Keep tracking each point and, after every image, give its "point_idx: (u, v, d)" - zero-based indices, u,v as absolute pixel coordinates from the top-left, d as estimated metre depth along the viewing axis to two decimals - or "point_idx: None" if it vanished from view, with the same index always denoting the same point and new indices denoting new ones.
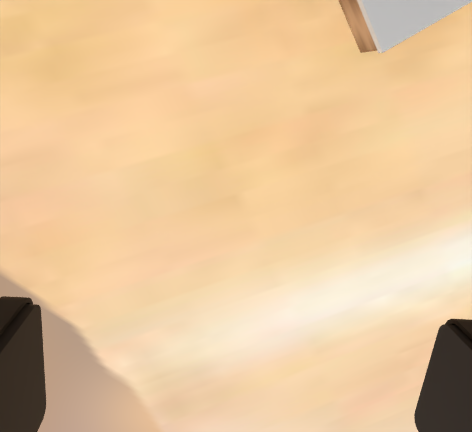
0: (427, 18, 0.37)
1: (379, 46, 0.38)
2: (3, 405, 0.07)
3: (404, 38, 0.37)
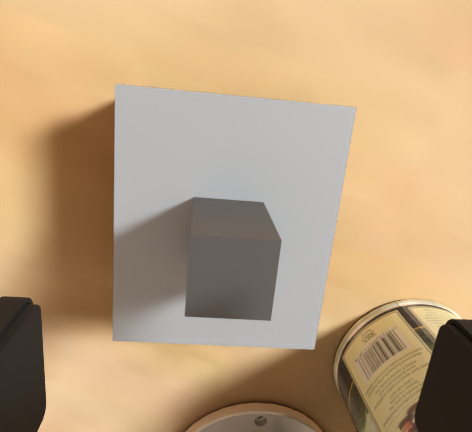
0: (251, 112, 0.18)
1: None
2: (3, 405, 0.07)
3: (307, 106, 0.18)
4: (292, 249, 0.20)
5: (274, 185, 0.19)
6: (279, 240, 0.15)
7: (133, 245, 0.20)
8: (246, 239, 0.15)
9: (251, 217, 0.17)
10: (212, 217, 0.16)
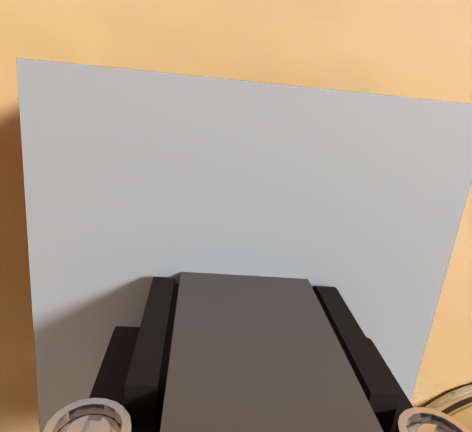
0: (290, 116, 0.09)
1: None
2: None
3: (399, 102, 0.09)
4: None
5: (328, 249, 0.10)
6: None
7: (71, 354, 0.11)
8: None
9: (296, 335, 0.08)
10: (216, 344, 0.08)
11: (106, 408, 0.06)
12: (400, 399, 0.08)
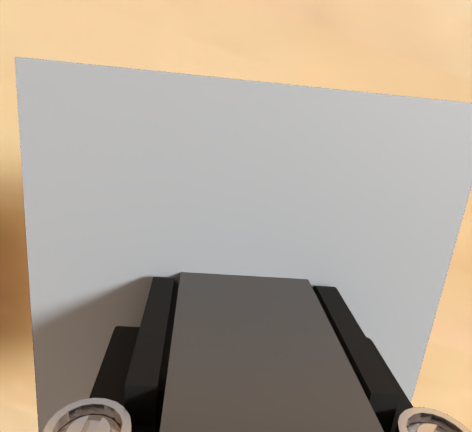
0: (290, 115, 0.09)
1: None
2: None
3: (400, 102, 0.09)
4: None
5: (329, 250, 0.10)
6: None
7: (70, 355, 0.11)
8: None
9: (296, 336, 0.08)
10: (216, 345, 0.08)
11: (106, 408, 0.06)
12: (400, 399, 0.08)
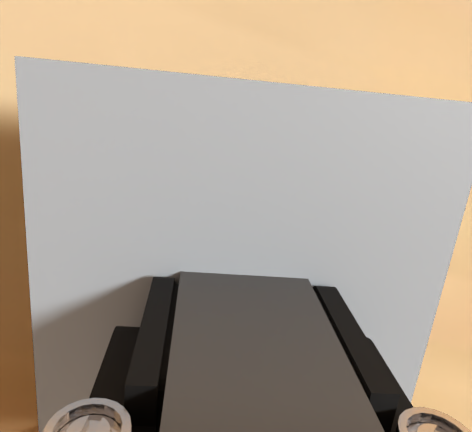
0: (290, 114, 0.09)
1: None
2: None
3: (400, 101, 0.09)
4: None
5: (329, 249, 0.10)
6: None
7: (70, 354, 0.11)
8: None
9: (296, 335, 0.08)
10: (216, 345, 0.08)
11: (106, 408, 0.06)
12: (400, 399, 0.08)
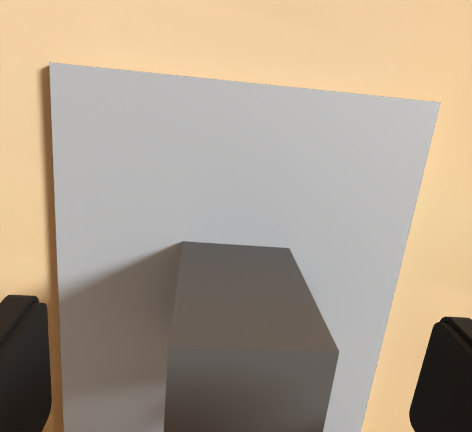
0: (272, 110, 0.11)
1: None
2: (11, 401, 0.07)
3: (363, 99, 0.11)
4: (330, 315, 0.13)
5: (306, 223, 0.12)
6: (335, 350, 0.08)
7: (90, 312, 0.13)
8: (273, 351, 0.08)
9: (275, 286, 0.10)
10: (211, 291, 0.10)
11: None
12: None
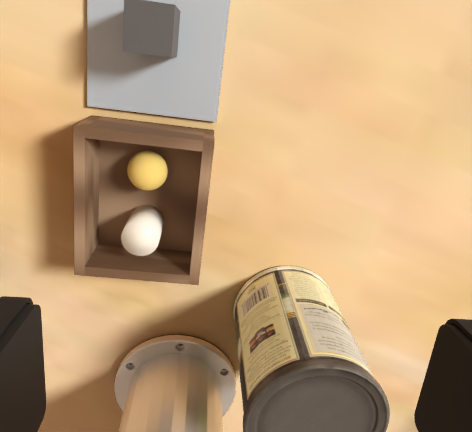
0: None
1: None
2: (3, 405, 0.07)
3: None
4: (199, 46, 0.32)
5: (186, 0, 0.31)
6: (174, 4, 0.27)
7: (99, 37, 0.32)
8: (155, 2, 0.27)
9: None
10: None
11: None
12: None
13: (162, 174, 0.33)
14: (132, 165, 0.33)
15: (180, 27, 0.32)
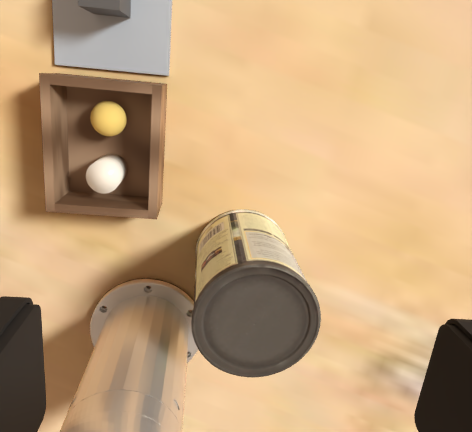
0: None
1: None
2: (3, 405, 0.07)
3: None
4: (149, 8, 0.38)
5: None
6: None
7: (62, 2, 0.37)
8: None
9: None
10: None
11: None
12: None
13: (120, 120, 0.38)
14: (94, 112, 0.38)
15: None
